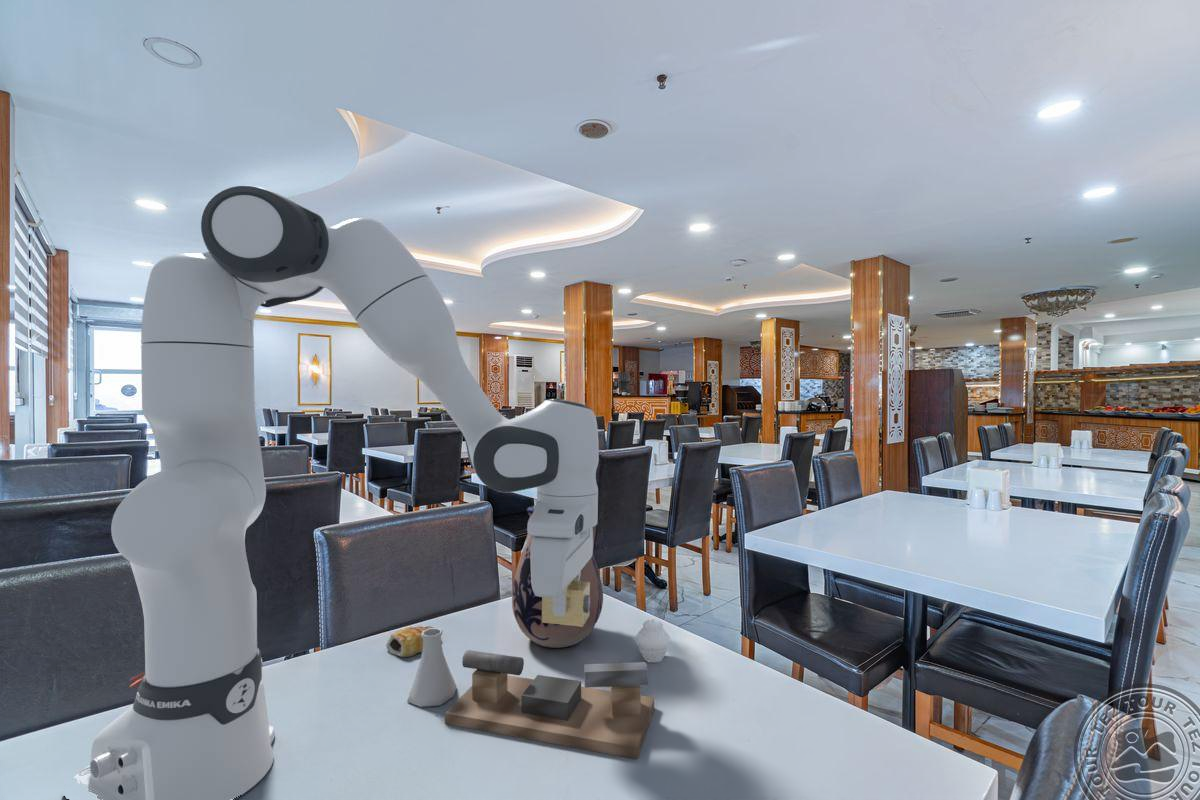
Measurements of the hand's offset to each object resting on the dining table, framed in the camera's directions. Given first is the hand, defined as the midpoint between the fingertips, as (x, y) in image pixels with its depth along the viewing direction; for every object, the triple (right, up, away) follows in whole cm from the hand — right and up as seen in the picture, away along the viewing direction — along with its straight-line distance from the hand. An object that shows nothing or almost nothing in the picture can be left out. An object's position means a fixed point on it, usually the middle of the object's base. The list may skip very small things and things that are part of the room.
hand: (565, 607), depth 79 cm
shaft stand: (-2, -16, +1) cm, 16 cm away
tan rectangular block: (0, -2, 0) cm, 2 cm away
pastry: (-30, -17, +23) cm, 41 cm away
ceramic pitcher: (-2, -16, +28) cm, 32 cm away
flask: (-21, -16, +6) cm, 28 cm away
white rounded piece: (+14, -16, +18) cm, 28 cm away
